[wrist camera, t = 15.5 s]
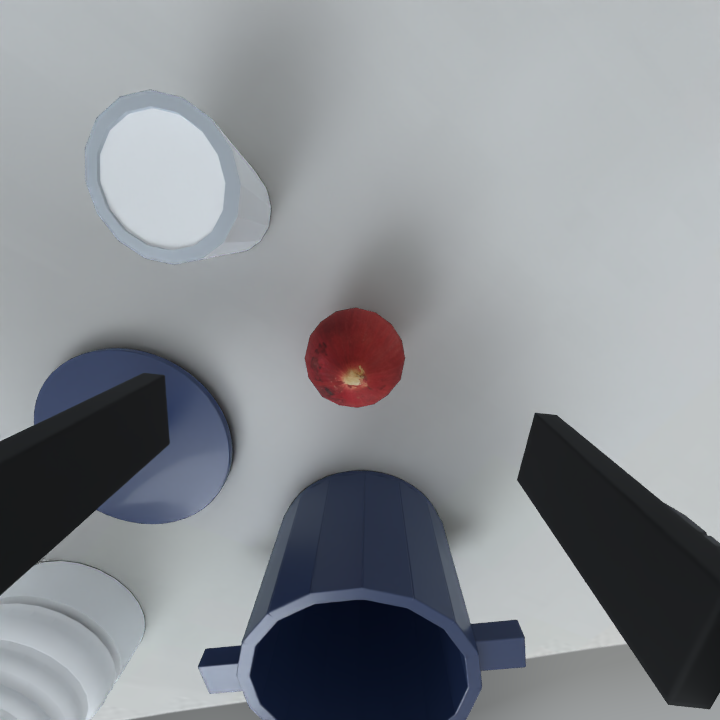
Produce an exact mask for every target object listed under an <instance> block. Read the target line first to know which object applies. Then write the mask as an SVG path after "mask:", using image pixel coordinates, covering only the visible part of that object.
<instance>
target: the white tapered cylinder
mask: <svg viewBox="0 0 720 720" xmlns="http://www.w3.org/2000/svg"><path fill="white" fill-rule="evenodd" d="M85 174H86V184H87V187H88V190H89V192H90V195H91V198H92V200H93V203H94V206H95V209H96V211H97V214H98V215H99V217H100V218H101V219H102V221H103V222H104V223H105V224H106V226H107V227H108V228H109V229H110V231H111V232H112V233H113V234H114V236H115V237H116V238H117V240H118V241H119V242H121V243H123V244H124V245H126V246H127V247H129V248H130V249H132V250H133V251H135V252H136V253H138V254H139V255H141V256H142V257H144V258H146V259H150V260H155V261H159V262H164V263H168V264H173V265H175V264H180V263H186V262H191V261H196V260H202V259H207V258H212V257H217V256H223V255H228V254H233V253H238V252H243V251H248V250H249V249H250V248H252V247H253V246H254V245H256V244H257V243H259V242H260V241H261V239H262V238H263V236H264V234H265V232H266V231H267V229H268V227H269V222H270V214H271V205H270V200H269V196H268V192H267V189H266V187H265V185H264V184H263V182H262V181H261V179H260V178H259V176H258V175H257V173H256V172H255V171H254V169H253V168H252V167H251V166H250V165H249V163H248V162H247V161H246V160H245V158H244V157H243V156H242V155H241V154H240V152H239V151H238V150H237V149H236V148H235V146H234V145H233V144H232V143H231V141H230V140H229V139H228V138H227V137H226V135H225V134H224V133H223V132H222V131H221V129H220V128H219V127H218V126H217V124H216V123H215V122H214V121H213V120H212V119H211V118H210V117H209V116H207V115H206V114H205V113H203V112H202V111H201V110H199V109H198V108H197V107H195V106H194V105H193V104H191V103H190V102H188V101H187V100H186V99H184V98H183V97H179V96H175V95H171V94H167V93H163V92H158V91H154V90H146V91H142V92H138V93H134V94H129V95H125V96H121V97H119V98H118V99H117V100H116V101H115V102H113V103H112V104H111V105H110V106H109V107H108V108H107V109H106V110H105V111H104V112H102V113H101V114H100V115H99V116H98V117H97V118H96V121H95V123H94V126H93V129H92V131H91V134H90V136H89V139H88V141H87V144H86V147H85Z"/></svg>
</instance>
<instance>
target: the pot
mask: <svg viewBox="0 0 720 720" xmlns="http://www.w3.org/2000/svg"><path fill="white" fill-rule="evenodd" d="M525 666H526V661H525V637H524V635H523V632H522V630H521V627H520V625H519V623H518V621H517V620H509V621H498V622H488V623H477V624H471V623H470V620H469V616H468V613H467V609H466V606H465V602H464V598H463V595H462V591H461V588H460V584H459V580H458V577H457V573H456V570H455V566H454V563H453V559H452V555H451V552H450V548H449V545H448V541H447V537H446V534H445V530H444V527H443V523H442V521H441V519H440V518H439V516H438V513H437V512H436V510H435V508H434V506H433V505H432V504H431V502H430V501H429V500H428V499H427V497H425V496H424V495H423V494H422V493H421V492H420V491H419V490H418V489H416V488H415V487H414V486H412V485H411V484H409V483H407V482H405V481H403V480H402V479H399V478H397V477H394V476H391V475H388V474H384V473H380V472H374V471H347V472H342V473H337V474H334V475H331V476H327V477H325V478H323V479H321V480H318V481H316V482H315V483H313V484H312V485H310V486H308V487H307V488H306V489H305V490H304V491H302V492H301V493H300V494H299V495H298V496H297V498H296V499H295V500H294V501H293V503H292V504H291V506H290V507H289V509H288V511H287V513H286V514H285V516H284V518H283V521H282V524H281V527H280V530H279V533H278V536H277V539H276V542H275V545H274V548H273V551H272V554H271V557H270V560H269V563H268V566H267V569H266V572H265V575H264V578H263V581H262V584H261V587H260V590H259V593H258V596H257V599H256V601H255V604H254V607H253V610H252V613H251V616H250V619H249V622H248V625H247V628H246V631H245V634H244V637H243V640H242V645H241V646H230V647H220V648H209V649H205V651H204V654H203V656H202V658H201V661H200V663H199V665H198V669H199V671H200V673H201V675H202V678H203V680H204V682H205V685H206V687H207V689H208V692H209V693H210V694H212V693H224V692H236V691H243V693H244V696H245V699H246V701H247V704H248V706H249V707H250V708H251V709H252V710H253V711H254V712H255V713H256V714H257V715H258V716H259V717H260V718H261V719H262V720H466V719H467V717H468V715H469V713H470V711H471V709H472V707H473V705H474V703H475V701H476V699H477V697H478V695H479V693H480V691H481V688H482V680H481V671H485V670H497V669H508V668H520V667H525Z"/></svg>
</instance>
